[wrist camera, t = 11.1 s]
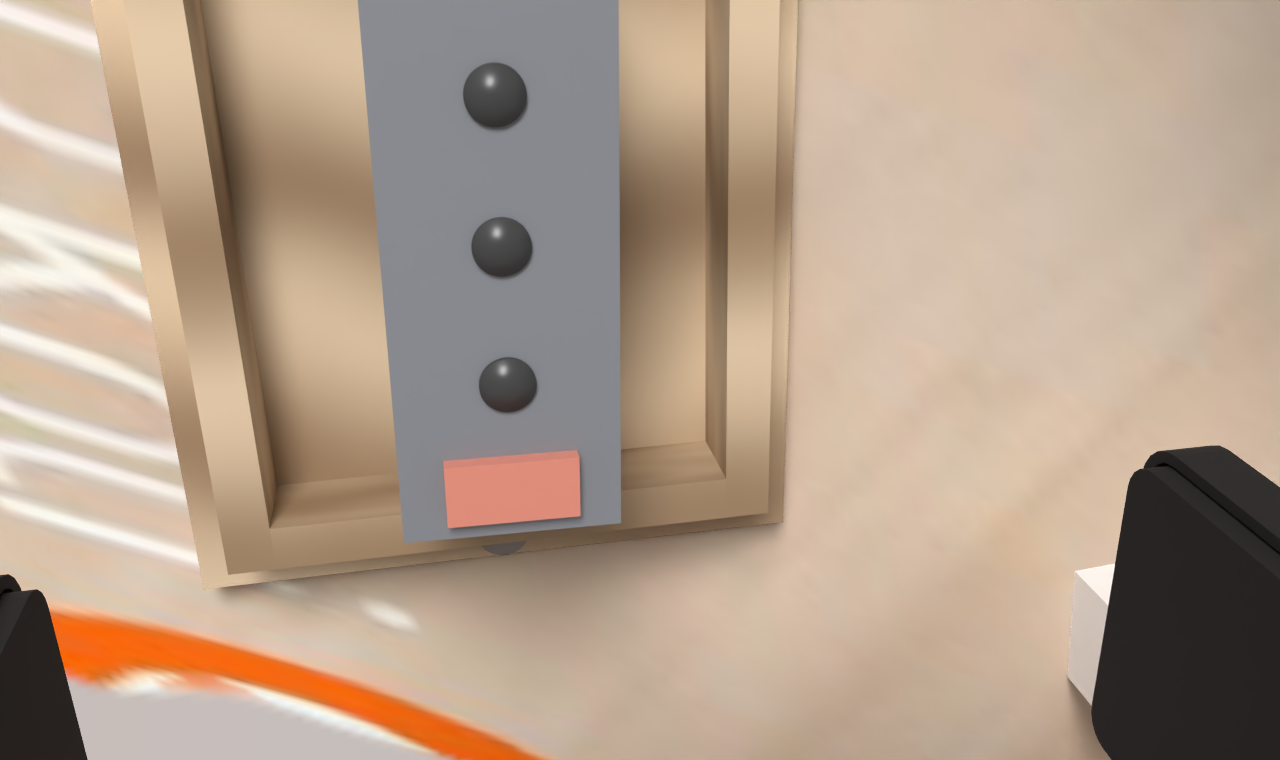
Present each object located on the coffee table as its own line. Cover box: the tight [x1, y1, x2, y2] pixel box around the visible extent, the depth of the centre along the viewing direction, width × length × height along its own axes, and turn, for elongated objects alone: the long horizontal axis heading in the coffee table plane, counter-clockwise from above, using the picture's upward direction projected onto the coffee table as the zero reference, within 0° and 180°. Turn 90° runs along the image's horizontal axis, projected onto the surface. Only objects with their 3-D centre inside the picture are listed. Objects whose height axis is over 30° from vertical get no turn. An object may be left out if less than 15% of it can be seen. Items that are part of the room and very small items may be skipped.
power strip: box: [358, 0, 621, 543], centre depth 23 cm, size 10×4×6 cm, turn 0°
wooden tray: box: [90, 0, 798, 589], centre depth 26 cm, size 18×14×3 cm
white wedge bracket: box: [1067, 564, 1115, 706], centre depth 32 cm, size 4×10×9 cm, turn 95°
